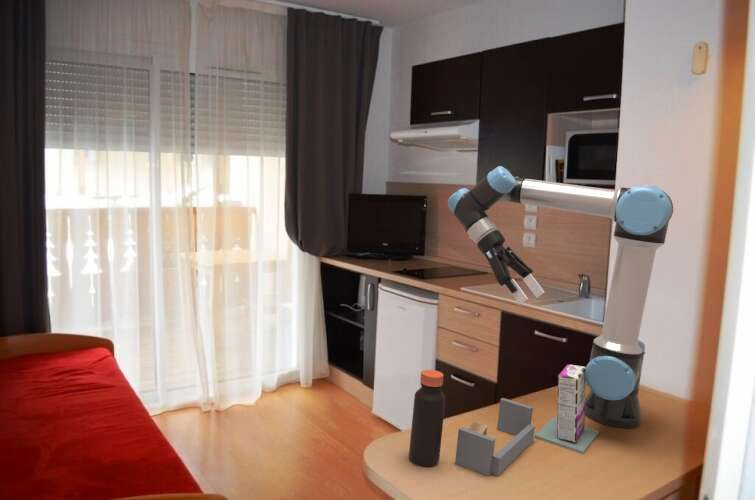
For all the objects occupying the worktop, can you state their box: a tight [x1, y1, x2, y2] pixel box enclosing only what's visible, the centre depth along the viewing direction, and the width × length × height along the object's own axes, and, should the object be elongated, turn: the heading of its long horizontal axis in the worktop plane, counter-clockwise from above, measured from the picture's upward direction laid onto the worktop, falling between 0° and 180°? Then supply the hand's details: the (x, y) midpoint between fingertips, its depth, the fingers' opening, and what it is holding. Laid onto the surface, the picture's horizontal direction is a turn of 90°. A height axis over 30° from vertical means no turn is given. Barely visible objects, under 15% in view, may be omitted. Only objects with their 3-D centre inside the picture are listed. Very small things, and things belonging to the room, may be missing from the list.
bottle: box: [408, 369, 447, 467], centre depth 124 cm, size 7×7×20 cm
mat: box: [534, 416, 600, 455], centre depth 144 cm, size 12×15×1 cm
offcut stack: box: [467, 421, 488, 436], centre depth 132 cm, size 4×8×5 cm, turn 155°
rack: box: [454, 397, 536, 477], centre depth 132 cm, size 10×25×8 cm, turn 145°
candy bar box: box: [557, 364, 586, 442], centre depth 143 cm, size 11×5×16 cm, turn 150°
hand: (532, 298), depth 153 cm, fingers open, 13 cm apart
